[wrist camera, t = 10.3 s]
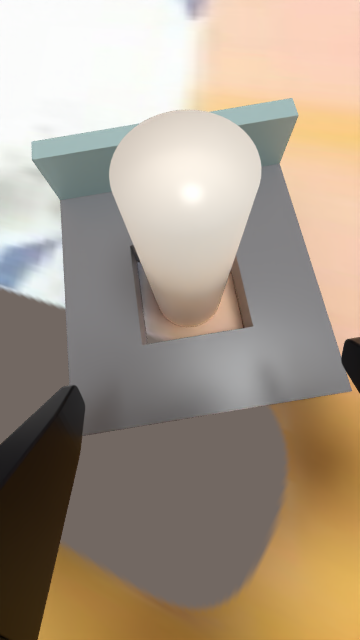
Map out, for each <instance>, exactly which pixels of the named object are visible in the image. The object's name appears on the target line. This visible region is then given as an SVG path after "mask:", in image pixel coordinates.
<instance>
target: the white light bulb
mask: <svg viewBox="0 0 360 640" xmlns="http://www.w3.org/2000/svg"><path fill="white" fill-rule="evenodd" d="M109 180H110V187H111V190H112V193H113V196H114V198H115V201H116V203H117V206H118V208H119V211H120V213H121V216H122V218H123V220H124V223H125V225H126V228H127V230H128V233H129V235H130V238H131V240H132V242H133V245H134V247H135V250H136V252H137V255H138V257H139V260H140V262H141V264H142V267H143V269H144V272H145V274H146V277H147V279H148V282H149V284H150V286H151V289H152V291H153V294H154V296H155V299H156V301H157V304H158V306H159V308H160V311H161V312H162V314H163V315H164V316H165V317H166V318H167V319H168V320H169V321H170V322H172V323H174V324H176V325H179V326H183V327H193V326H198V325H201V324H203V323H205V322H206V321H208V320H209V319H210V318H211V317H212V316H213V315H214V314H215V312H216V311H217V309H218V306H219V303H220V300H221V297H222V294H223V291H224V288H225V285H226V282H227V279H228V276H229V274H230V271H231V268H232V265H233V262H234V259H235V256H236V253H237V250H238V247H239V244H240V241H241V238H242V235H243V232H244V229H245V226H246V223H247V220H248V217H249V214H250V211H251V208H252V205H253V202H254V199H255V196H256V194H257V191H258V188H259V185H260V180H261V160H260V156H259V153H258V150H257V148H256V146H255V144H254V143H253V141H252V140H251V138H250V137H249V136H248V135H247V133H246V132H245V131H244V130H243V129H241V128H240V127H239V126H238V125H236V124H235V123H233V122H232V121H230V120H228V119H226V118H224V117H222V116H220V115H217V114H214V113H210V112H206V111H199V110H176V111H171V112H166V113H162V114H159V115H156V116H154V117H151V118H149V119H147V120H145V121H143V122H142V123H140V124H139V125H137V126H136V127H134V128H133V129H132V130H131V131H130V132H129V133H128V134H127V135H126V136H125V137H124V138H123V139H122V140H121V142H120V143H119V145H118V146H117V148H116V150H115V152H114V154H113V157H112V160H111V163H110V169H109Z"/></svg>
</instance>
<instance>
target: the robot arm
mask: <svg viewBox="0 0 360 640" xmlns="http://www.w3.org/2000/svg"><path fill="white" fill-rule="evenodd" d="M341 362H342V365H343V367H344V369H345V370H346V372H347V374H348V375H349V377H350V378H351V380H352V382H353V383H354V385H355V387H356V388H357V390H358V391H359V393H360V337H357V338H351V339H347V340H346V341H345V343H344V347H343V352H342V357H341ZM84 416H85V402H84V400H83V398H82V395H81V393H80V391H79V389H78V387H77V386H76V385H70V386H64V387H62V388H61V389H60V390H59V391H58V392H56V393H55V395H53V396H52V397H51V398H50V399H49V400H48V401H47V402H46V403H45V404H44V405H42V406H41V407H40V408H39V409H38V410H37V411H36V412H35V413H34V414H33V415H32V416H31V417H29V418H28V419H27V420H26V421H25V422H24V423H23V424H22V425H21V426H20V427H19V428H18V429H16V430H15V431H14V432H13V433H12V434H11V435H10V436H9V437H8V438H7V439H6V440H5V441H3V442H2V443H1V444H0V640H38V635H39V631H40V627H41V622H42V618H43V614H44V609H45V605H46V600H47V596H48V592H49V587H50V583H51V579H52V574H53V570H54V566H55V561H56V557H57V552H58V548H59V544H60V539H61V535H62V530H63V526H64V522H65V517H66V513H67V508H68V504H69V500H70V495H71V491H72V487H73V483H74V478H75V474H76V469H77V465H78V460H79V455H80V450H81V442H82V433H83V425H84Z"/></svg>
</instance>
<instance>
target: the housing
mask: <svg viewBox="0 0 360 640" xmlns="http://www.w3.org/2000/svg"><path fill="white" fill-rule="evenodd" d="M210 113H214V114H217V115H220V116H222V117H224V118H226V119H228V120H230V121H232V122H233V123H235V124H236V125H238V126H239V127H240V128H241V129H243V130H244V131H245V132H246V133H247V135H248V136H249V137H250V138H251V140H252V141H253V143H254V144H255V146H256V148H257V150H258V153H259V156H260V160H261V180H260V185H259V188H258V191H257V194H256V196H255V199H254V202H253V205H252V208H251V211H250V214H249V217H248V220H247V223H246V226H245V229H244V232H243V235H242V238H241V241H240V244H239V247H238V250H237V253H236V256H235V259H234V262H233V265H232V268H231V272H232V277H233V281H234V285H235V290H236V294H237V298H238V303H239V307H240V311H241V316H242V320H243V324H244V328H241V329H235V330H229V331H223V332H217V333H211V334H205V335H199V336H193V337H187V338H181V339H175V340H169V341H163V342H157V343H151V344H147V337H146V329H145V321H144V314H143V306H142V298H141V291H140V283H139V275H138V267H137V261H140V260H139V257H138V255H137V252H136V250H135V247H134V245H133V242H132V240H131V238H130V235H129V233H128V230H127V228H126V225H125V223H124V220H123V218H122V216H121V213H120V211H119V208H118V206H117V203H116V201H115V198H114V196H113V193H112V190H111V187H110V180H109V169H110V163H111V160H112V157H113V154H114V152H115V150H116V148H117V146H118V145H119V143H120V142H121V140H122V139H123V138H124V137H125V136H126V135H127V134H128V133H129V132H130V131H131V130H132V129H133V128H134V127H136V126H137V125H139V124H135V125H129V126H123V127H117V128H111V129H105V130H99V131H93V132H87V133H81V134H75V135H69V136H63V137H57V138H51V139H45V140H39V141H33V142H32V161H33V162H34V163H35V165H36V166H37V168H38V169H39V171H40V172H41V173H42V175H43V176H44V178H45V179H46V180H47V182H48V183H49V185H50V186H51V188H52V189H53V190H54V192H55V193H56V195H57V196H58V198H59V199H60V204H61V224H62V244H63V264H64V284H65V305H66V325H67V345H68V365H69V383H70V384H69V386H70V385H76V386H77V387H78V389H79V391H80V393H81V395H82V398H83V400H84V402H85V416H84V425H83V433H82V436H85V435H91V434H97V433H102V432H109V431H115V430H121V429H126V428H133V427H139V426H144V425H151V424H157V423H163V422H169V421H175V420H180V419H187V418H193V417H199V416H205V415H211V414H217V413H223V412H229V411H235V410H241V409H247V408H253V407H259V406H265V405H271V404H277V403H283V402H290V401H296V400H302V399H308V398H314V397H320V396H326V395H332V394H338V393H344V392H350V391H352V389H351V386H350V383H349V380H348V377H347V374H346V371H345V369H344V367H343V365H342V362H341V355H340V352H339V349H338V346H337V342H336V339H335V336H334V333H333V330H332V327H331V324H330V321H329V317H328V314H327V311H326V308H325V305H324V302H323V299H322V295H321V292H320V289H319V286H318V283H317V280H316V277H315V274H314V270H313V267H312V264H311V261H310V258H309V255H308V252H307V248H306V245H305V242H304V239H303V236H302V233H301V230H300V227H299V223H298V220H297V217H296V214H295V211H294V208H293V205H292V201H291V198H290V195H289V192H288V189H287V186H286V183H285V180H284V176H283V173H282V170H281V167H280V164H279V163H280V161H281V158H282V156H283V153H284V151H285V148H286V146H287V143H288V141H289V138H290V135H291V133H292V130H293V128H294V125H295V123H296V120H297V118H298V112H297V110H296V107H295V104H294V101H293V99H292V98H290V99H284V100H278V101H272V102H266V103H260V104H254V105H248V106H242V107H236V108H230V109H224V110H218V111H212V112H210Z"/></svg>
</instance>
